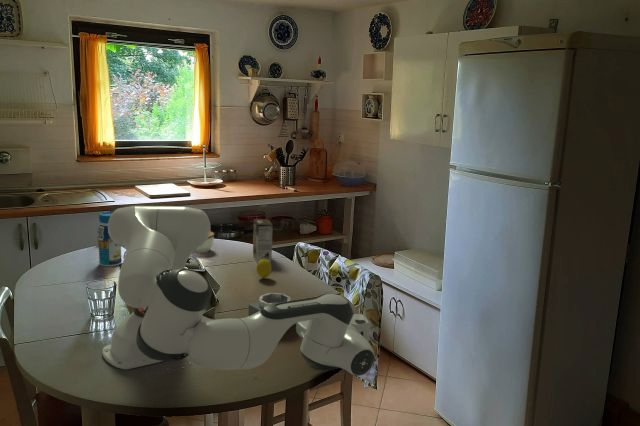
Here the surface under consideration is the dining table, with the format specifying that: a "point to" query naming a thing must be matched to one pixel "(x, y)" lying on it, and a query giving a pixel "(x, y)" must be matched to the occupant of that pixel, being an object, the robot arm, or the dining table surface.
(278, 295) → the grey cube with hole
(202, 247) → the lidded jar
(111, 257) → the blue cylindrical canister
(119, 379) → the dining table surface
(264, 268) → the lemon
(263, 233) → the coffee box
